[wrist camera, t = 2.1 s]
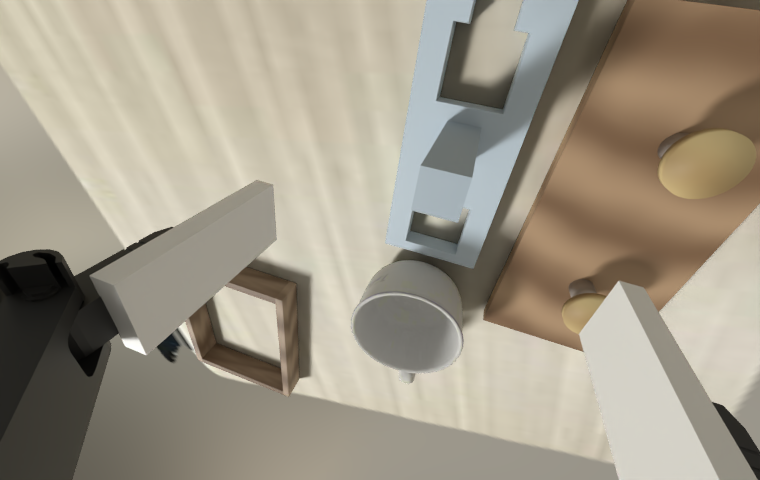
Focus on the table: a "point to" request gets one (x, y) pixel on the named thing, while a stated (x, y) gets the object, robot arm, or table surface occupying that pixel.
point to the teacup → (410, 319)
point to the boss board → (642, 169)
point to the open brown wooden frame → (245, 365)
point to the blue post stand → (467, 130)
